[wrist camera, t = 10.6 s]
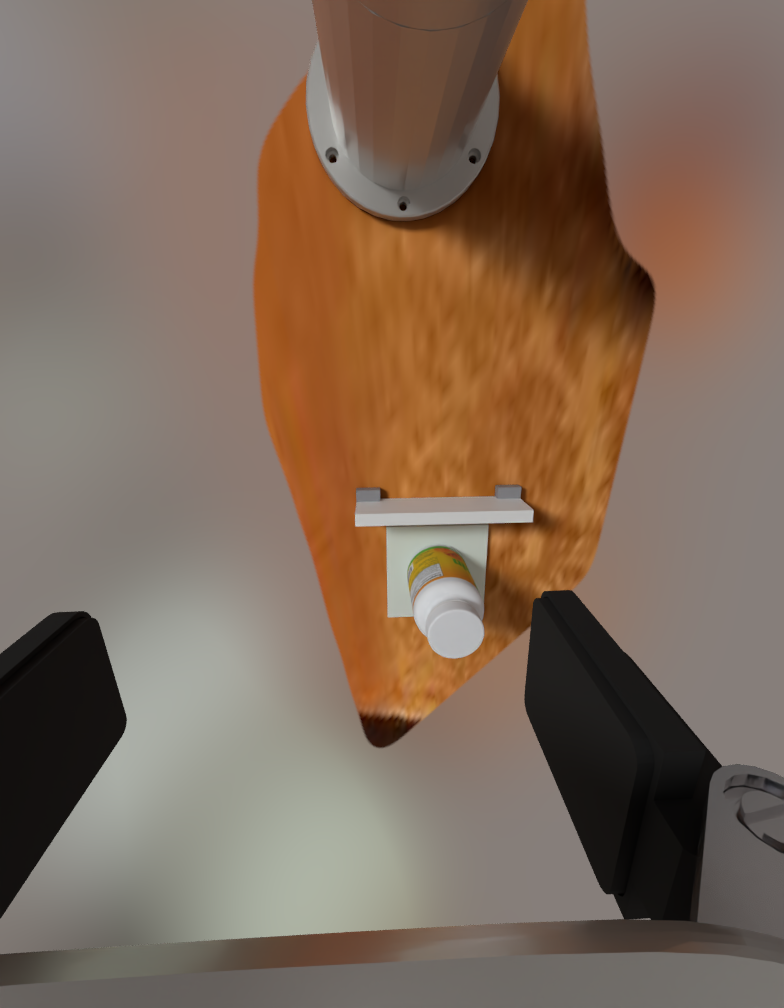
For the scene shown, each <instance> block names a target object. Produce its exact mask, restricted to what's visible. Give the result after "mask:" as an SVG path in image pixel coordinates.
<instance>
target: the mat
mask: <svg viewBox="0 0 784 1008" xmlns="http://www.w3.org/2000/svg"><path fill="white" fill-rule="evenodd" d="M488 527H489V525H488V523H480V524H438V525H395V526H386V534H387V600H388V617H412V616H414V615H413V609H412V603H411V597H410V592H409V586H408V580H407V568H408V564H409V562H410V560H411V558H412V557H413V556H414V555H415V554H416V553H417V552H418V551H419V550H421V549H422V548H424V547H427V546H430V545H436V544H440V545H446V546H449V547H451V548H453V549H455V550H456V551H458V552H459V553H460V555H461V556H462V557H463V559H464V561H465V563H466V565H467V567H468V569H469V572H470V574H471V576H472V578H473V580H474V582H475V584H476V586H477V588H478V590H479V592H480V595H481V597H482V600H483V604H484V592H485V576H486V560H487V543H488Z"/></svg>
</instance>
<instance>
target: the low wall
mask: <svg viewBox="0 0 784 1008" xmlns="http://www.w3.org/2000/svg"><path fill="white" fill-rule="evenodd" d="M356 498H357V503H356V511H355V526H395V525H437V524H480V523H522V522H533V513H534V510H533V509H532V508H531V507H530V506H528V505H527V504H526V503H525V502H524V501H523V500H522V499H521V486H519V485H496V486H495V496H484V497H438V498H391V499H380V488H357V489H356Z"/></svg>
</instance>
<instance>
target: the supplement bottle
mask: <svg viewBox="0 0 784 1008" xmlns="http://www.w3.org/2000/svg"><path fill="white" fill-rule="evenodd" d="M407 580H408V586H409V592H410V597H411V603H412V609H413V615H414V619H415V622H416V624H417V626H418V628H419V629H420V631H421V632H422V633H423V634H424V635H425V636H426V637H428V641H429V644H430V646H431V647H432V649H433V650H434V651H435V652H436V653H438V654H439V655H441V656H443V657H447V658H461V657H465V656H467V655H469V654H471V653H473V652H474V651H475V650H476V649H477V648H478V647H479V646H480V644H481V643H482V640H483V637H484V626H483V623H482V619H483V615H484V604H483V600H482V597H481V595H480V592H479V590H478V588H477V586H476V584H475V582H474V580H473V578H472V576H471V574H470V572H469V569H468V567H467V565H466V563H465V561H464V559H463V557H462V556H461V555H460V553H459V552H458V551H456V550H455V549H453V548H451V547H449V546H446V545H440V544H436V545H430V546H427V547H424V548H422V549H421V550H419V551H418V552H417V553H416V554H415V555H414V556H413V557H412V558H411V560H410V562H409V564H408V568H407Z"/></svg>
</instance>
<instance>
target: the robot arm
mask: <svg viewBox="0 0 784 1008" xmlns="http://www.w3.org/2000/svg"><path fill="white" fill-rule="evenodd" d="M527 1H528V0H312V4H313V10H314V16H315V22H316V28H317V34H318V39H317V42H316V45H315V48H314V51H313V53H312V56H311V59H310V65H309V70H308V76H307V81H306V108H307V116H308V123H309V129H310V133H311V136H312V140H313V144H314V147H315V149H316V152H317V154H318V157H319V160H320V162H321V164H322V166H323V168H324V169H325V171H326V173H327V175H328V176H329V178H330V180H331V181H332V182H333V184H334V185H335V186H336V187H337V188H338V190H339V191H340V192H341V193H342V194H343V195H344V196H345V197H346V198H347V199H348V200H350V201H351V202H352V203H353V204H355V205H356V206H357V207H358V208H360V209H362V210H364V211H366V212H368V213H370V214H372V215H374V216H377V217H380V218H384V219H387V220H393V221H412V220H418V219H424V218H426V217H429V216H431V215H434V214H436V213H439V212H441V211H442V210H444V209H445V208H447V207H448V206H450V205H451V204H453V203H454V202H455V201H456V200H457V199H458V198H460V197H461V196H462V195H463V194H464V193H465V192H466V191H467V190H468V188H469V187H470V185H471V184H472V183H473V181H474V180H475V178H476V177H477V175H478V174H479V172H480V171H481V169H482V167H483V165H484V163H485V161H486V159H487V156H488V154H489V151H490V149H491V146H492V143H493V141H494V137H495V132H496V127H497V123H498V118H499V99H500V93H499V83H498V70H499V68H500V66H501V63H502V61H503V58H504V56H505V54H506V51H507V49H508V46H509V44H510V42H511V39H512V37H513V34H514V32H515V30H516V27H517V25H518V22H519V20H520V18H521V15H522V13H523V11H524V8H525V6H526V3H527ZM332 157H334V158H336V159H337V161H336V162H335V163H330V162H329V161H330V159H331V158H332ZM470 158H472V159H474V160H475V164H472V163H471V162H470V161H469V159H470ZM402 204H403V205H405V206H406V208H407V209H406V210H405V211H401V210H400V205H402ZM525 707H526V712H527V715H528V717H529V719H530V722H531V724H532V727H533V729H534V732H535V734H536V736H537V738H538V741H539V743H540V746H541V748H542V750H543V753H544V755H545V757H546V760H547V762H548V765H549V766H550V769H551V772H552V774H553V776H554V779H555V781H556V784H557V786H558V788H559V790H560V793H561V795H562V798H563V800H564V803H565V805H566V807H567V809H568V812H569V814H570V817H571V819H572V821H573V824H574V826H575V829H576V831H577V833H578V836H579V838H580V840H581V843H582V845H583V848H584V850H585V852H586V854H587V857H588V859H589V862H590V864H591V866H592V869H593V871H594V874H595V876H596V878H597V880H598V882H599V885H600V887H601V888H602V890H603V891H604V892H605V893H606V894H613V895H614V897H615V899H616V902H617V904H618V906H619V908H620V911H621V913H622V915H623V917H624V919H617V920H590V921H560V922H534V923H505V924H504V923H503V924H485V925H468V926H449V927H432V928H415V929H398V930H382V931H381V930H380V931H361V932H344V933H325V934H308V935H292V936H277V937H260V938H244V939H227V940H212V941H196V942H181V943H164V944H148V945H135V946H134V945H132V946H117V947H101V948H85V949H71V950H58V951H57V950H56V951H42V952H27V953H13V954H0V1008H784V778H783V777H781V776H779V775H777V774H775V773H773V772H770V771H767V770H764V769H761V768H757V767H755V766H747V765H740V764H735V765H728V766H723V767H722V765H721V764H720V763H719V762H718V761H717V759H716V758H715V757H714V756H713V755H712V754H711V752H710V751H709V750H708V749H707V748H706V747H705V745H704V744H703V743H702V742H701V741H700V739H699V738H698V737H697V736H696V735H695V734H694V732H693V731H692V730H691V729H690V728H689V726H688V725H687V724H686V723H685V722H684V720H683V719H682V718H681V717H680V716H679V714H678V713H677V712H676V711H675V710H674V708H673V707H672V706H671V705H670V704H669V703H668V702H667V700H666V699H665V698H664V697H663V695H662V694H661V693H660V692H659V691H658V690H657V688H656V687H655V686H654V685H653V684H652V682H651V681H650V680H649V679H648V678H647V677H646V675H645V674H644V673H643V672H642V671H641V669H640V668H639V667H638V666H637V665H636V663H635V662H634V661H633V660H632V659H631V658H630V657H629V656H628V655H627V654H626V653H625V652H623V651H622V649H620V647H619V646H618V645H617V643H616V642H615V641H614V640H613V639H612V637H611V636H610V635H609V634H608V633H607V631H606V630H605V629H604V628H603V627H602V625H600V623H599V622H598V621H597V620H596V618H595V617H594V616H593V615H592V614H591V612H590V611H589V610H588V609H587V608H586V606H585V605H584V604H583V603H582V602H581V600H580V599H579V598H578V597H577V596H576V594H575V593H574V592H573V591H571V590H562V591H544V592H543V593H542V596H541V598H536V599H535V600H534V602H533V611H532V621H531V632H530V643H529V654H528V664H527V676H526V685H525ZM126 721H127V718H126V713H125V710H124V707H123V703H122V700H121V697H120V693H119V690H118V686H117V683H116V680H115V676H114V673H113V670H112V666H111V663H110V660H109V656H108V653H107V650H106V646H105V643H104V639H103V636H102V633H101V630H100V626H99V623H98V621H97V620H96V619H94V618H91V616H90V615H89V614H88V613H87V612H84V611H78V612H57V613H52V614H50V615H49V616H47V617H46V618H45V619H44V620H42V621H41V622H40V623H38V624H37V625H36V626H35V627H33V628H32V629H31V630H30V631H28V632H27V633H26V634H25V635H23V636H22V637H21V638H20V639H18V640H17V641H16V642H15V643H13V644H12V645H11V646H10V647H8V648H7V649H6V650H5V651H3V652H2V653H1V654H0V918H1V917H2V916H3V914H4V913H5V911H6V909H7V908H8V907H9V905H10V904H11V902H12V901H13V899H14V898H15V896H16V894H17V893H18V892H19V890H20V889H21V887H22V885H23V884H24V883H25V881H26V880H27V878H28V876H29V875H30V873H31V872H32V870H33V869H34V867H35V866H36V864H37V863H38V861H39V860H40V858H41V857H42V855H43V854H44V852H45V851H46V849H47V848H48V846H49V845H50V843H51V842H52V840H53V839H54V837H55V836H56V834H57V833H58V831H59V830H60V828H61V827H62V825H63V824H64V822H65V821H66V819H67V818H68V816H69V815H70V813H71V812H72V810H73V809H74V807H75V806H76V804H77V803H78V801H79V800H80V798H81V797H82V795H83V794H84V792H85V791H86V789H87V788H88V786H89V785H90V783H91V782H92V780H93V779H94V777H95V776H96V774H97V773H98V771H99V770H100V768H101V767H102V765H103V764H104V762H105V761H106V759H107V758H108V756H109V755H110V753H111V752H112V750H113V749H114V747H115V746H116V744H117V743H118V741H119V740H120V738H121V737H122V735H123V733H124V731H125V727H126ZM641 918H642V919H643V918H650V919H651V920H630V919H641Z"/></svg>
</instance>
